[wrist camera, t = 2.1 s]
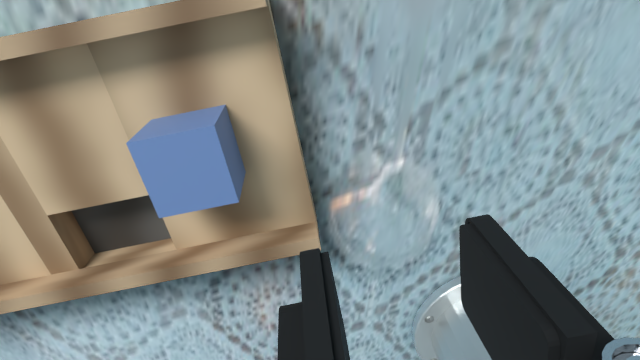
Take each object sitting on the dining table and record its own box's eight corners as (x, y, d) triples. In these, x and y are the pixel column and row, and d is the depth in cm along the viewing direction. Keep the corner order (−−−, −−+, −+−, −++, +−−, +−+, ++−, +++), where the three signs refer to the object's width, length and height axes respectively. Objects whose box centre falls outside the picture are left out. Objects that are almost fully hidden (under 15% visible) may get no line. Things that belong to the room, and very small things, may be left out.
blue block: (225, 104, 23) (214, 125, 19) (245, 171, 25) (238, 202, 21) (151, 119, 23) (125, 143, 19) (177, 185, 25) (159, 218, 21)
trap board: (265, -15, 22) (260, -17, 17) (316, 215, 29) (322, 259, 24) (-266, 94, 23) (-420, 122, 18) (-89, 295, 30) (-163, 356, 25)
